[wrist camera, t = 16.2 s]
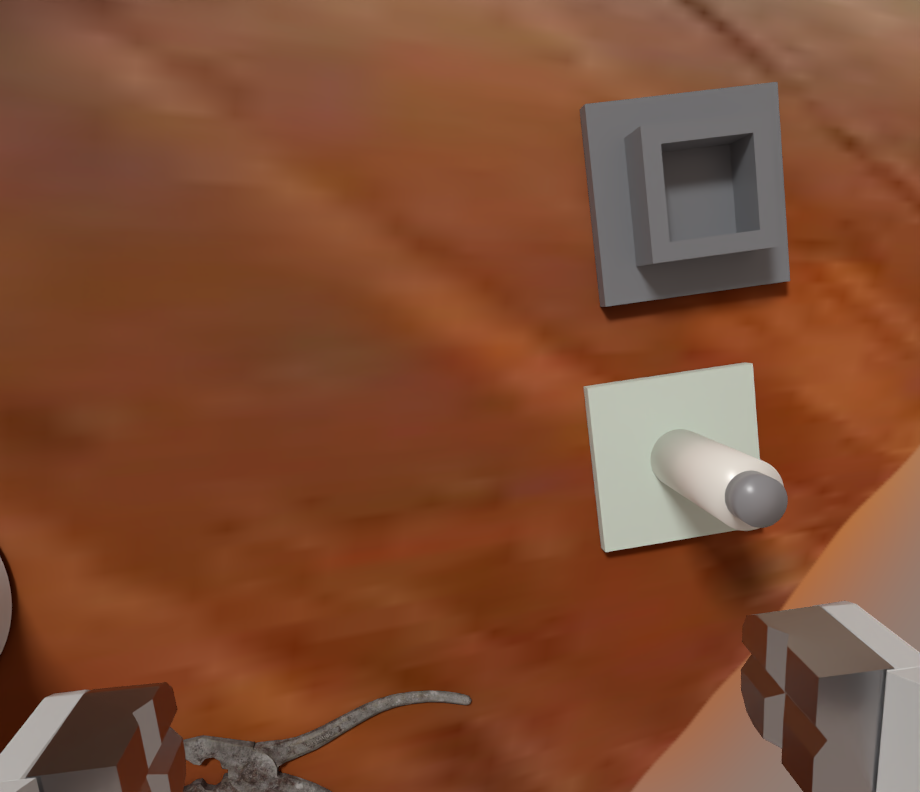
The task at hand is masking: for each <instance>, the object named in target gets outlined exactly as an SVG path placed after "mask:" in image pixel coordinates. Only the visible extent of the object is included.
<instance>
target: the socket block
mask: <svg viewBox="0 0 920 792" xmlns="http://www.w3.org/2000/svg"><path fill="white" fill-rule="evenodd" d="M580 117H581V127H582V136H583V146H584V155H585V165H586V174H587V184H588V194H589V203H590V213H591V222H592V232H593V241H594V251H595V261H596V270H597V280H598V289H599V299H600V307H607V306H614V305H622V304H629V303H636V302H643V301H650V300H657V299H664V298H672V297H679V296H686V295H693V294H700V293H707V292H715V291H722V290H729V289H736V288H743V287H750V286H757V285H765V284H772V283H779V282H786V281H790V272H789V256H788V241H787V225H786V209H785V194H784V178H783V163H782V147H781V131H780V116H779V100H778V84H777V82H772V83H764V84H755V85H746V86H738V87H729V88H721V89H712V90H704V91H695V92H686V93H678V94H669V95H661V96H652V97H643V98H635V99H626V100H618V101H609V102H601V103H592V104H585V105H584V106H583V107H582V108H581V109H580Z"/></svg>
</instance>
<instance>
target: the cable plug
mask: <svg viewBox="0 0 920 792" xmlns="http://www.w3.org/2000/svg"><path fill="white" fill-rule="evenodd" d="M650 462H651V467H652V470H653V473H654V474H655V476H656V477H657V478H658V479H659V480H660V481H661V482H663V483H664V484H666V485H667V486H669V487H670V488H672V489H673V490H675V491H676V492H678V493H679V494H681V495H682V496H684V497H685V498H687V499H688V500H690V501H691V502H693V503H695V504H696V505H698V506H699V507H701V508H702V509H704V510H705V511H707V512H708V513H710V514H711V515H713V516H714V517H716V518H717V519H719V520H720V521H722V522H723V523H725V524H726V525H728V526H730V527H732V528H734V529H737V530H742V531H749V530H755V529H758V528H764V527H768V526H771V525H773V524H774V523H776V522H777V521H778V520H779V519H780V518H781V517H782V516H783V514H784V512H785V510H786V507H787V493H786V490H785V488H784V486H783V482H782V479H781V477H780V475H779V473H778V472H777V471H776V469H775V468H773V467H772V466H771V465H770V464H768V463H766V462H764V461H762V460H759V459H757V458H755V457H752V456H750V455H747V454H745V453H743V452H740V451H738V450H735V449H733V448H731V447H728V446H726V445H723V444H721V443H719V442H716V441H714V440H711V439H709V438H707V437H704V436H702V435H699V434H697V433H695V432H692V431H690V430H686V429H675V430H672V431H669V432H667V433H665V434H664V435H662V436H661V437H660V438H659V439H658V440H657V442H656V443H655V445H654V447H653V449H652V452H651V458H650Z"/></svg>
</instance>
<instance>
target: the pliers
mask: <svg viewBox="0 0 920 792" xmlns="http://www.w3.org/2000/svg"><path fill="white" fill-rule="evenodd" d="M423 702H445V703H453V704H461V705H468V704H470V703H471V698H470V697H469V696H467V695H464V694H460V693H453V692H446V691H416V692H406V693H400V694H394V695H390V696H386V697H383V698H379V699H376V700H374V701H372V702H369V703H367V704H364V705H362V706H360V707H358V708H356V709H354V710H352V711H350V712H348V713H346V714H344V715H343V716H341V717H339V718H337V719H335V720H333V721H331V722H329V723H327V724H325V725H323V726H321V727H319V728H317V729H315V730H312V731H310V732H308V733H305V734H303V735H300V736H297V737H294V738H289V739H284V740H275V741H266V742H258V743H255V742H251V741H243V740H235V739H227V738H219V737H211V736H204V735H203V736H198V737H194V738H190V739H185V740H183V743H184V749H185V755H186V759H187V761H188V760H189V762H190V761H191V763H193V764H195V765H201V763H202V762H203V761H204V759H207V758H212V757H214V758H215V759H217V760H219V761H220V763H221V766H222V768H223V769H228V773H225V774H224V776H223V779H222V781H221V782H220V783H218V784H217V785H211V784H207V783H206V782H205V780H204V779H203V778H201V779H197V780H195V781H194V782H192V784H190V785H187V786H184V789H183V792H332V791H330V790H328V789H326V788H324V787H322V786H320V785H318V784H316V783H313V782H310V781H308V780H305V779H302V778H299V777H296V776H292V775H289V774H286V773H281V772H279V771H278V767H279V766H280V765H282V764H284V763H285V762H287V761H290V760H292V759H295V758H297V757H299V756H302V755H304V754H306V753H309V752H311V751H313V750H315V749H317V748H319V747H321V746H323V745H324V744H326V743H328V742H330V741H331V740H333V739H335V738H336V737H338V736H339V735H341V734H342V733H344V732H346V731H347V730H349V729H351V728H352V727H354V726H356V725H358V724H359V723H361V722H363V721H365V720H366V719H368V718H370V717H372V716H374V715H376V714H378V713H380V712H382V711H385V710H388V709H391V708H394V707H397V706H402V705H407V704H413V703H423Z"/></svg>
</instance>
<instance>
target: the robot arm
mask: <svg viewBox="0 0 920 792" xmlns="http://www.w3.org/2000/svg"><path fill="white" fill-rule="evenodd" d="M11 615H12V599H11V590H10V584H9V580H8V576H7V573H6V570H5V567H4V564H3V562H2V559H1V557H0V655H1V652H2V650H3V648H4V645H5V643H6V640H7V637H8V633H9V629H10V623H11ZM742 642H743V644H744V645H745V646H746V647H747V649H748V650H749V651H750V653H751V656H750V657H749V659H748V660H747V661H746V663H745V664H744V666H743V667H742V669H741V691H742V695H743V699H744V703H745V707H746V711H747V713H748V715H749V717H750V719H751V721H752V723H753V725H754V727H755V728H756V729H757V731H758V732H759V733H760V735H761V736H762V738H763V739H765V740H767V741H769V742H771V743H772V744H774V745H776V746H778V747H780V748H782V764H783V765H784V767H785V768H786V770H787V771H788V772H789V773H790V775H791V776H792V777H793V779H794V780H795V781H796V783H797V784H798V785H799V787H800V788H801V789H802V791H803V792H920V652H918V651H917V650H916V649H914V648H913V647H912V646H910V645H909V644H908V643H906V642H905V641H904V640H903V639H901V638H900V637H899V636H897V635H896V634H895V633H893V632H892V631H891V630H889V629H888V628H887V627H885V626H884V625H883V624H882V623H880V622H879V621H878V620H876V619H875V618H874V617H872V616H871V615H870V614H869V613H867V612H866V611H865V610H863V609H862V608H861V607H859V606H858V605H857V604H855V603H851V602H848V601H841V602H834V603H828V604H822V605H815V606H812V607H804V608H797V609H790V610H783V611H776V612H769V613H761V614H754V615H747V616H746V618H745V621H744V623H743V628H742ZM176 712H177V706H176V701H175V697H174V692H173V688H172V687H171V686H170V685H169V684H168V683H166V682H164V683H153V684H143V685H132V686H122V687H112V688H101V689H93V690H80V691H72V692H64V693H56V694H53V695H50V696H48V697H45V698H44V699H43V700H42V701H41V703H40V704H39V705H38V707H37V708H36V709H35V710H34V712H33V713H32V714H31V715H30V717H29V718H28V719H27V721H26V722H25V723H24V724H23V726H22V727H21V728H20V729H19V731H18V732H17V733H16V735H15V736H14V737H13V738H12V740H11V741H10V742H9V743H8V745H7V746H6V747H5V749H4V750H3V751H2V752H1V754H0V792H183V789H184V783H185V776H186V755H185V749H184V743H183V738H182V737H181V736H180V735H179V734H178V733H176V732H175V731H174V730H173V729H172V728H171V727H170V725H171V722H172V720H173V718H174V716H175V714H176Z"/></svg>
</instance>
